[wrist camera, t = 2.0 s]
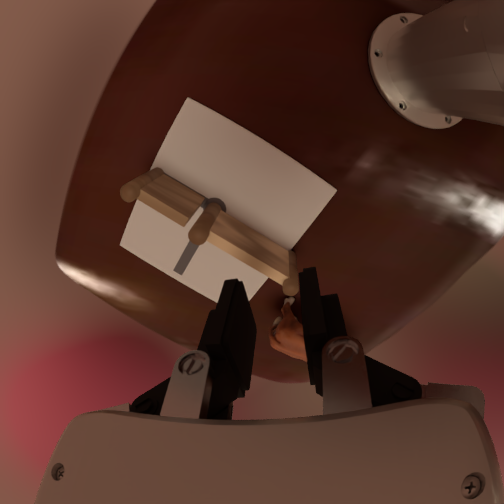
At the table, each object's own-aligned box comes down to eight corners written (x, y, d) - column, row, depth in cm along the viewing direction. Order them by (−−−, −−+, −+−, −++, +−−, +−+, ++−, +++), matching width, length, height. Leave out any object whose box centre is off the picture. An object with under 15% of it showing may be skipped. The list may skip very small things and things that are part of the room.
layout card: (188, 97, 23) (187, 97, 23) (336, 189, 27) (337, 190, 26) (121, 243, 32) (119, 245, 32) (238, 311, 35) (238, 314, 35)
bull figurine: (341, 349, 37) (349, 395, 30) (263, 308, 34) (258, 358, 27) (363, 330, 35) (375, 377, 28) (284, 284, 32) (284, 334, 25)
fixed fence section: (154, 164, 27) (123, 180, 21) (206, 195, 28) (187, 218, 22) (148, 177, 27) (117, 196, 22) (199, 207, 28) (179, 234, 23)
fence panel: (203, 212, 28) (184, 238, 23) (210, 199, 27) (193, 223, 22) (290, 264, 30) (291, 300, 25) (299, 254, 29) (302, 288, 24)
